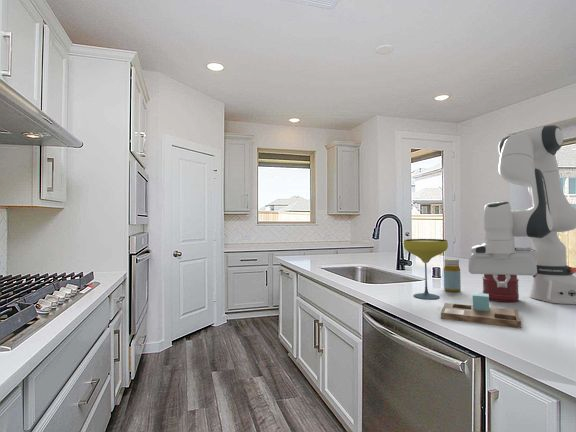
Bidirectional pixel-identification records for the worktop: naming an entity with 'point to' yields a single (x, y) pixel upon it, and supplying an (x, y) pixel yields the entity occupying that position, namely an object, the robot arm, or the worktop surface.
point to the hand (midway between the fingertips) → (502, 287)
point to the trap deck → (481, 315)
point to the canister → (498, 292)
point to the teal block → (481, 301)
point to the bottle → (452, 275)
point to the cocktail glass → (426, 257)
